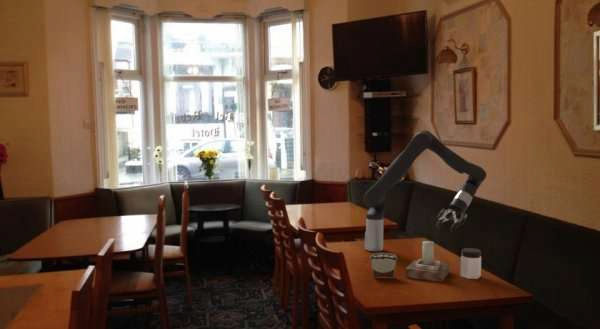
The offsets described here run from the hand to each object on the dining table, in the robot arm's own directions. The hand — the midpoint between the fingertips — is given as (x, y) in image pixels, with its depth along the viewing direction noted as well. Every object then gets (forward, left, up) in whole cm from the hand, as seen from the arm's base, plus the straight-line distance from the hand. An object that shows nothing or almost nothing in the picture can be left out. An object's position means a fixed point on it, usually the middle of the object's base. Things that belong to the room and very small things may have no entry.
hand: (444, 229), depth 237 cm
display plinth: (-5, -9, -20) cm, 22 cm away
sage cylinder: (-5, -9, -16) cm, 19 cm away
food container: (-23, -19, -20) cm, 36 cm away
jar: (+13, -3, -20) cm, 24 cm away
